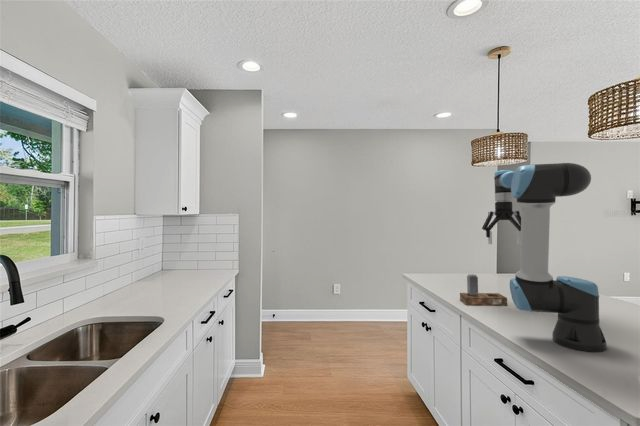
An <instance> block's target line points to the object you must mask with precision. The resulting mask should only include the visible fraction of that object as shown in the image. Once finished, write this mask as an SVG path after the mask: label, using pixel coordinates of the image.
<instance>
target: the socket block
mask: <svg viewBox="0 0 640 426" xmlns="http://www.w3.org/2000/svg"><path fill="white" fill-rule="evenodd" d="M459 301H460V302H462V303H463V304H464V305H466V306H485V307H487V306H488V307H489V306H490V307H493V306H497V307H502V306H504V307H508V298H507V297H506V296H504V295H503V294H501V293H499V292H498V293H497V292H495V293H494V292H478V296H468V293H467V292H459Z"/></svg>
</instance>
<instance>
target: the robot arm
mask: <svg viewBox="0 0 640 426" xmlns="http://www.w3.org/2000/svg"><path fill="white" fill-rule="evenodd" d="M493 178H494V179H493V180H494V201H495V203H494V208H495V210H494V211H492V210H491V211H488V213H487V215H488V216H487V217H486V218H485V219H486V220H485V221H484V223H483V225H482V226H481V229H482V230H483V231H485V236H486V238H487V243H488V245H493V231H492V229H493V228H494V227H495V225H496V224H498V222H499V221H510V223H511V224H512V225H513V226H514V227H515V228H516V229H517V230H516V231H515V232H516V244H518V245H520V259H519V261H520V266H519V270H518V271H516V272H515V278H510V279H509V290H510V295H511V299H512V302H513V304H514V306H515V308H516V309H517V310H519V311H524V312H530V313H533V312H534V313H550V314H551V313H552V314H557V320H556V323H555V326H554V328H553V330H552V341H554V342H555V343H556V344H557V345H561V346H562V347H566V348H569V349H573V350H577V351H584V352H591V353H592V352H593V353H596V352H605V351H606V350H607V348H608V347H607V346H608V345H607V340H606V338H605V336H604V333H603V331H602V328H601V326H600V325H601V324H600V294H599V286H598V285H597V284H596V283H595V282H593V281H590V280H588V279H582V278H578V277H573V276H567V275H566V276H565V275H557V276H556V279H555V280H554V277H553V275H552V274H551V273H549V253H550V252H549V250H550V221H551V219H550V218H551V214H550V213H551V212H550V211H551V206H553V205H554V204H555V203H556V198H557V197H570V196H575V195H577V194H580V193H581V192H585V190H587V188H588V187H589V186H590V184H591V181H592V175H591V173H590V171H589V170H588V169H587V168H586V167H585V166H583V165H581V164H577V163H572V162H560V163H556V162H555V163H540V164H527V165H526V164H525V165H521V166H518V167H517V168H516V169H515V170H514V171H512V170H510V169H509V170H508V169H502V170H497V171H495V172H494V176H493ZM513 199H516V203H517V204H518V205H519V206H520V207H521V209H520V210H513ZM520 211H521V213H520ZM494 216H495V217H494ZM513 216H515V218H516V220H515V218H514V217H513ZM493 217H494V219H493V220H492V218H493ZM491 220H492V221H491Z"/></svg>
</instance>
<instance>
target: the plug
mask: <svg viewBox="0 0 640 426" xmlns="http://www.w3.org/2000/svg"><path fill="white" fill-rule="evenodd" d="M478 279H479V277H478V276H477V274H474V273H470V274H469V273H468V274H467V276H466V281H467V282H466V283H467V284H466V285H467V286H466V287H467V292H466V293H468V296H478V293H479V280H478Z"/></svg>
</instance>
